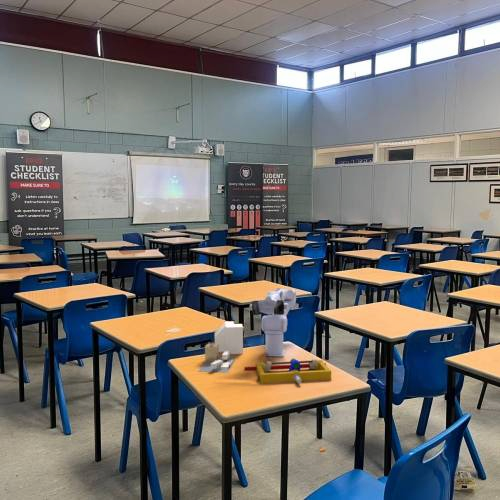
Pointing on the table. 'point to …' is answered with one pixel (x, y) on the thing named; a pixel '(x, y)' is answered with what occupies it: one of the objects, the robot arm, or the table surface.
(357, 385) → the table surface
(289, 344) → the table surface
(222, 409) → the table surface
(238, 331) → the corner bracket
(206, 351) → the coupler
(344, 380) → the table surface
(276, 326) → the robot arm
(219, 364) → the shaft stand
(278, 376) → the mechanical clamp
